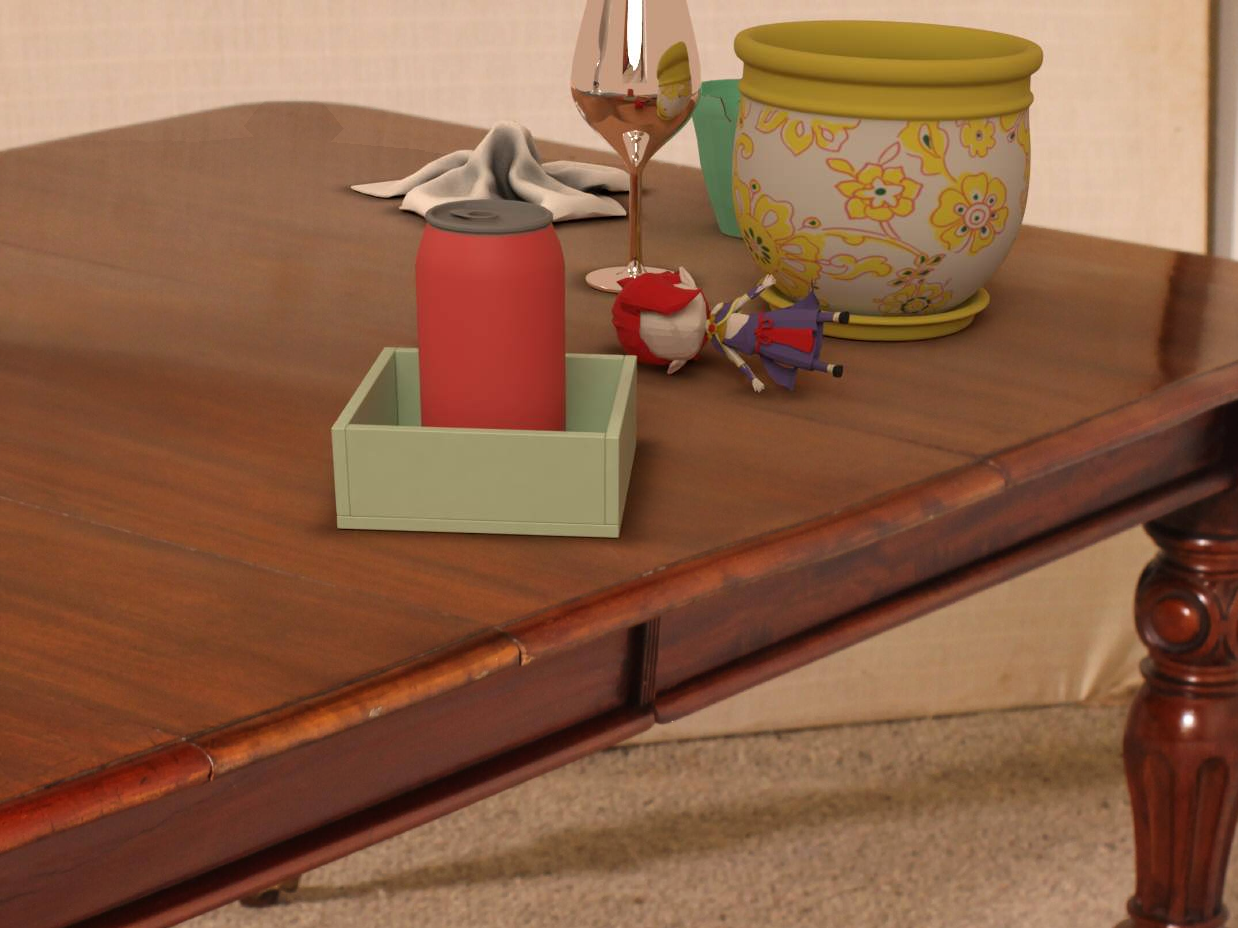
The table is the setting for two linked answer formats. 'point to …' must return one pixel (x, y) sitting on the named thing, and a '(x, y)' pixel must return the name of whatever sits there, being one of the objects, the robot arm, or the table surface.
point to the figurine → (719, 327)
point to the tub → (486, 458)
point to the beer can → (491, 317)
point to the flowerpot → (882, 168)
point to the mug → (718, 147)
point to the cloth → (509, 179)
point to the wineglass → (635, 94)
